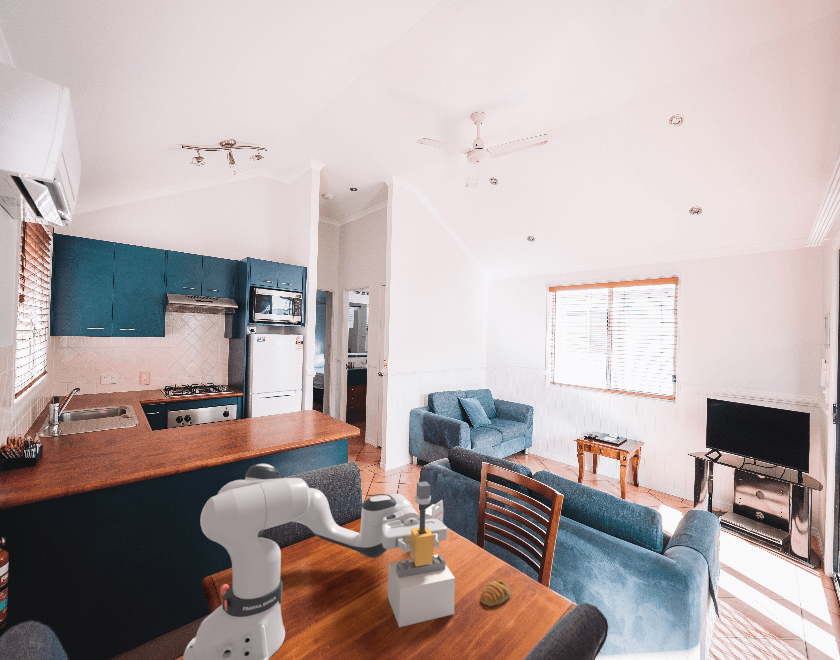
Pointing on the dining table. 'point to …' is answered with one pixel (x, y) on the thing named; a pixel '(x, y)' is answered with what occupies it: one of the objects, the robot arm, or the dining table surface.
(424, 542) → the sleeve
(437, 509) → the ink cartridge box
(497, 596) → the pastry
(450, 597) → the comb base
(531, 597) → the dining table surface
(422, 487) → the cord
